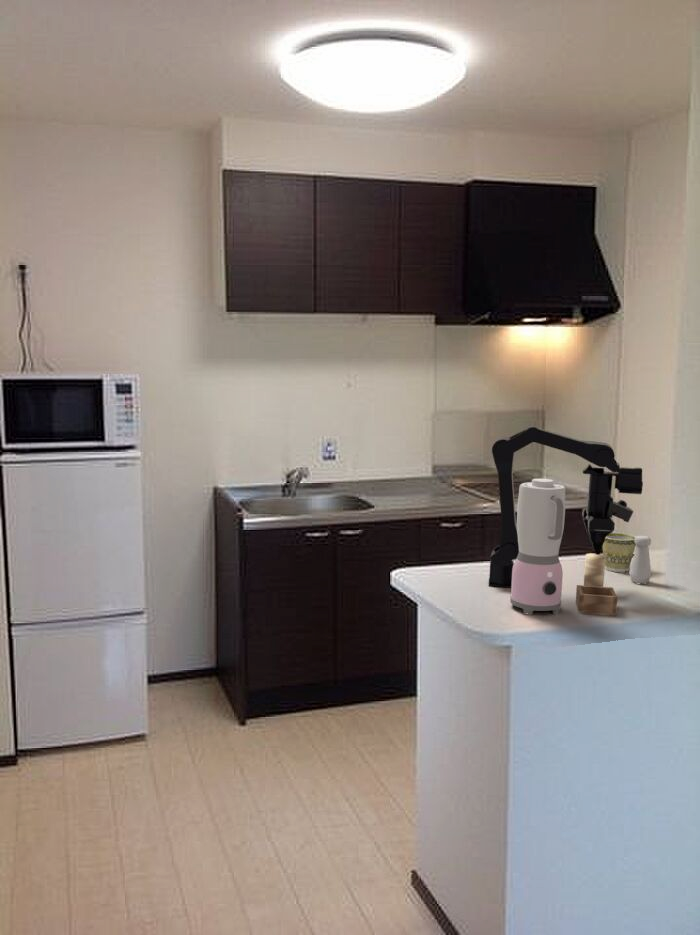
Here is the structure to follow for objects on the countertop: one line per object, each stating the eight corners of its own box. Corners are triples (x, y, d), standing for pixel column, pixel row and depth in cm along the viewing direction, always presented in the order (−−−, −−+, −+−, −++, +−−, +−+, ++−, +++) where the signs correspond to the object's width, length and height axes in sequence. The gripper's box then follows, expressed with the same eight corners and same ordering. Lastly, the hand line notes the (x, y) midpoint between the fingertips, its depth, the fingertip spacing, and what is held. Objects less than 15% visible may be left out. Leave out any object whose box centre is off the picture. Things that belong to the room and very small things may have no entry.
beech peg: (584, 594, 231) (586, 557, 230) (582, 589, 236) (584, 552, 235) (603, 596, 230) (606, 558, 229) (601, 590, 235) (604, 554, 234)
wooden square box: (578, 613, 215) (579, 594, 214) (575, 602, 224) (576, 585, 223) (616, 615, 214) (617, 597, 213) (611, 605, 222) (612, 587, 222)
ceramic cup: (603, 573, 253) (606, 539, 252) (595, 564, 263) (597, 531, 262) (649, 575, 253) (652, 540, 251) (639, 566, 263) (641, 533, 261)
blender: (501, 602, 222) (508, 476, 218) (544, 599, 226) (552, 475, 221) (531, 621, 207) (539, 487, 203) (577, 618, 211) (586, 486, 206)
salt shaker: (651, 585, 241) (655, 539, 239) (629, 584, 242) (633, 537, 240) (649, 580, 247) (652, 534, 245) (627, 578, 248) (631, 533, 246)
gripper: (637, 499, 219) (632, 561, 221) (626, 487, 237) (622, 544, 239) (591, 497, 221) (587, 558, 223) (584, 485, 239) (580, 541, 241)
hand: (595, 550), depth 232 cm, fingers open, 9 cm apart
